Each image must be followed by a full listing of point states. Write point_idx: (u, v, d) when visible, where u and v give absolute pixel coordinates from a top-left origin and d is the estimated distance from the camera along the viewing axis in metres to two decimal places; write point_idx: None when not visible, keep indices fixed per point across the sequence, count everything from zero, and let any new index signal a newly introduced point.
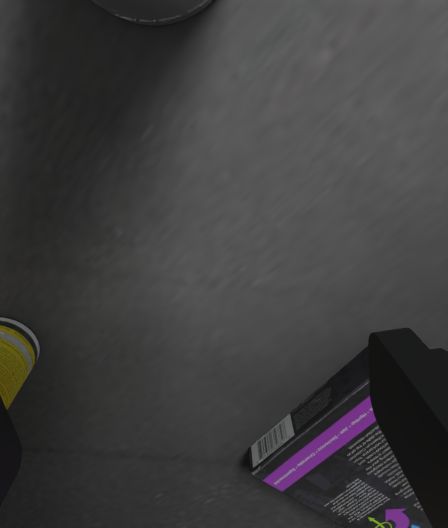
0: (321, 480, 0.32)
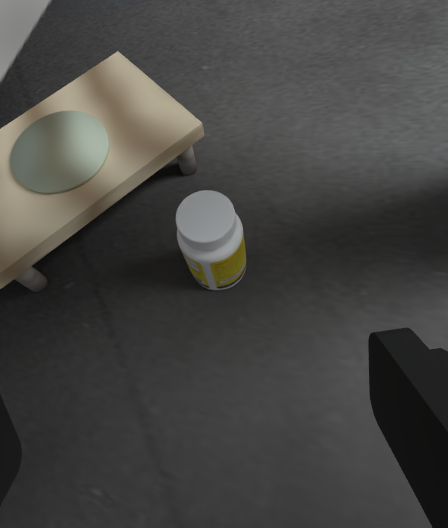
0: None
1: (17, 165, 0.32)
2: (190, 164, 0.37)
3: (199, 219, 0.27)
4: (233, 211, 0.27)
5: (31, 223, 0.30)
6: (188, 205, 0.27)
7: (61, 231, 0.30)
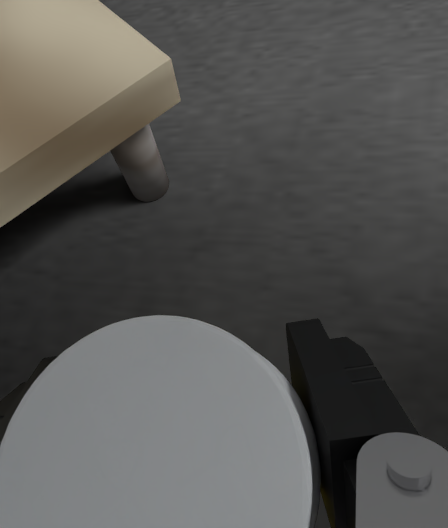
0: None
1: None
2: (149, 177, 0.15)
3: (114, 498, 0.05)
4: (303, 455, 0.05)
5: None
6: (69, 400, 0.05)
7: None
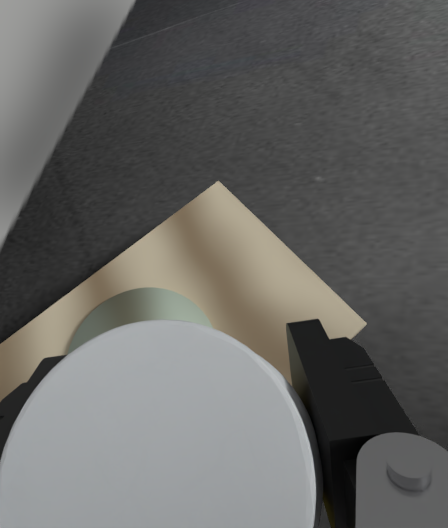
0: None
1: None
2: None
3: (117, 503, 0.05)
4: (307, 461, 0.05)
5: None
6: (71, 404, 0.05)
7: None
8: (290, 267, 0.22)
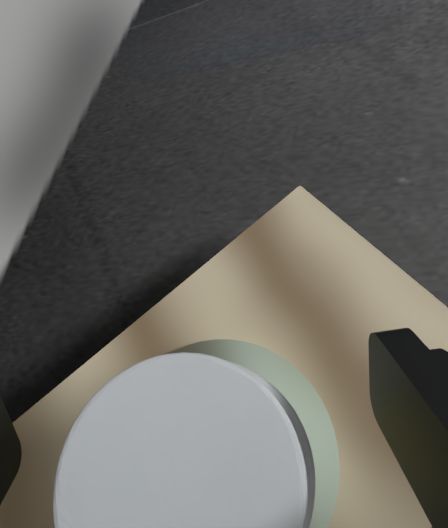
0: None
1: None
2: None
3: (152, 502, 0.06)
4: (300, 468, 0.06)
5: None
6: (113, 422, 0.07)
7: None
8: (419, 306, 0.16)
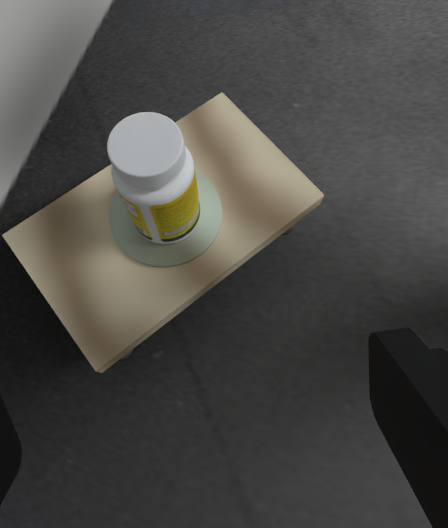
0: None
1: (118, 228, 0.29)
2: (291, 226, 0.34)
3: (137, 147, 0.21)
4: (181, 141, 0.21)
5: (139, 302, 0.27)
6: (126, 128, 0.21)
7: (172, 313, 0.27)
8: (273, 156, 0.31)
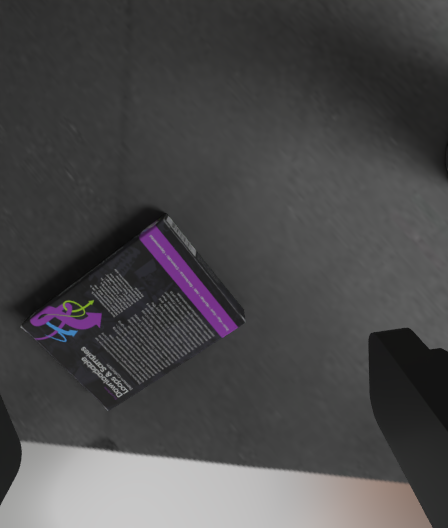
0: (146, 270, 0.40)
1: None
2: None
3: None
4: None
5: None
6: None
7: None
8: None
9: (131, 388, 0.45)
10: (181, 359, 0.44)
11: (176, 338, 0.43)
